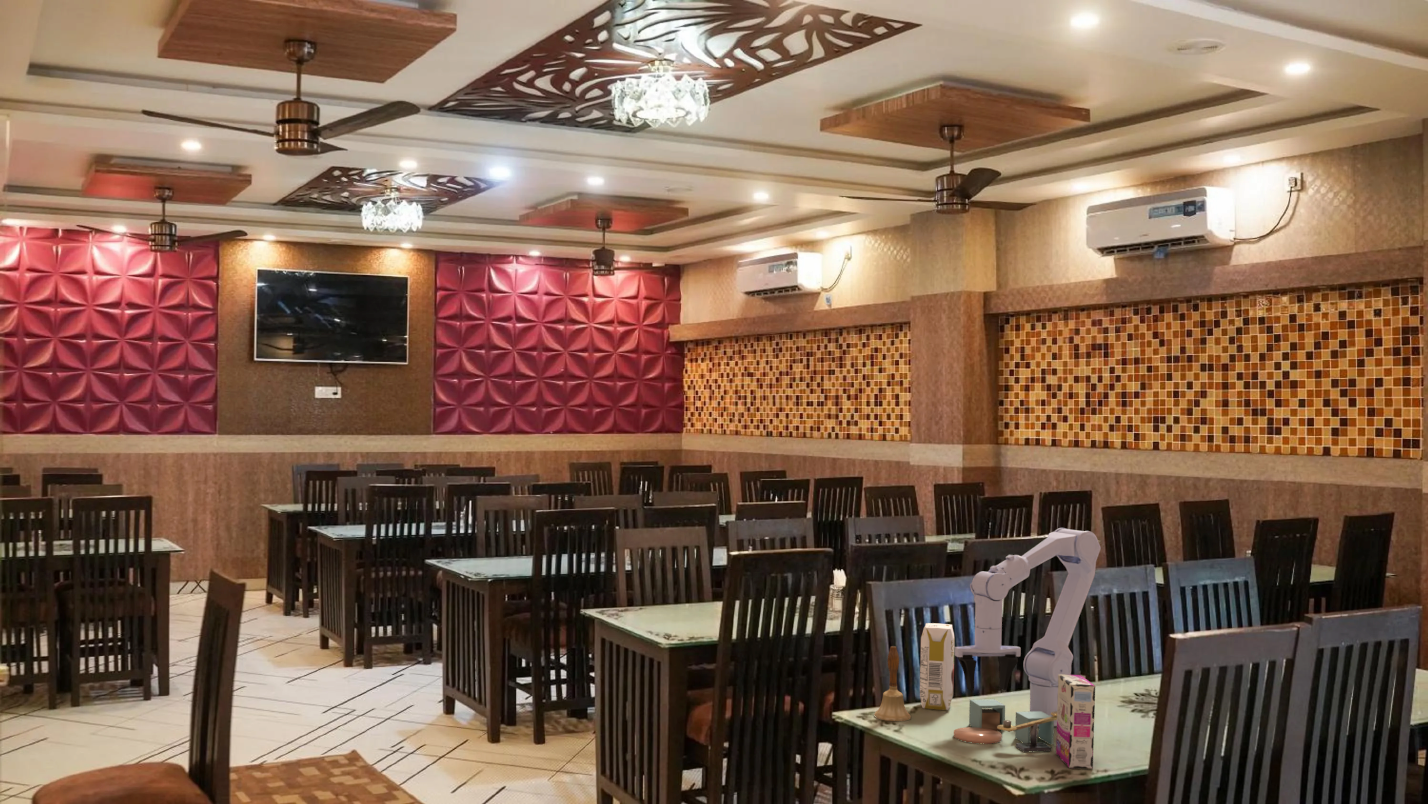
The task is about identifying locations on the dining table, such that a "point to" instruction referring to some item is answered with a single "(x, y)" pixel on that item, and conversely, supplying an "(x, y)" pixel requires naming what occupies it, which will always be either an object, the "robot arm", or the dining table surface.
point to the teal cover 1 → (980, 704)
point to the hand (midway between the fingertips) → (986, 689)
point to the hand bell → (892, 694)
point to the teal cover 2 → (1044, 729)
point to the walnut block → (990, 719)
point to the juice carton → (937, 666)
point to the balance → (1033, 733)
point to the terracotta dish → (977, 735)
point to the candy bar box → (1075, 721)
